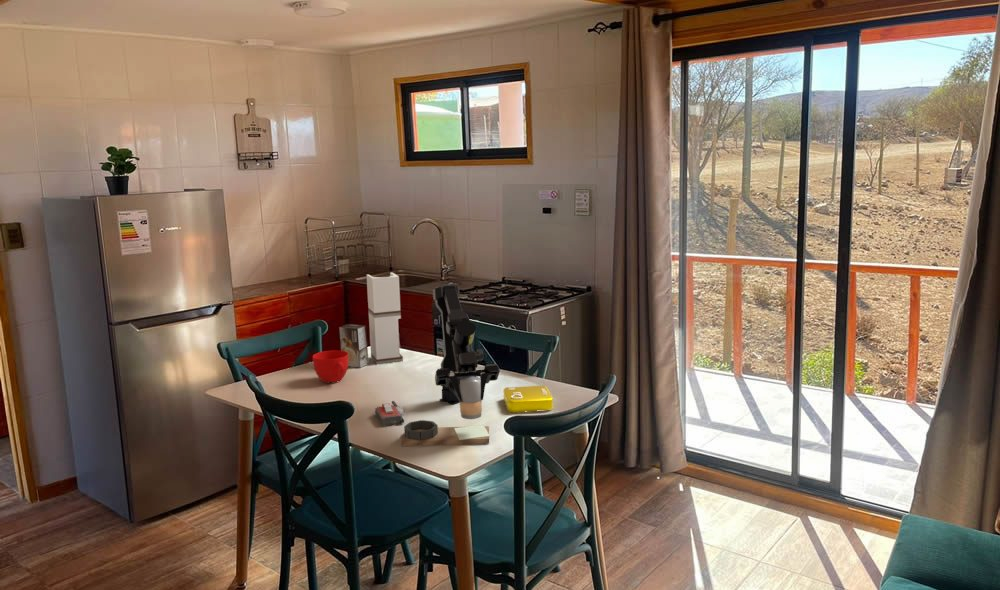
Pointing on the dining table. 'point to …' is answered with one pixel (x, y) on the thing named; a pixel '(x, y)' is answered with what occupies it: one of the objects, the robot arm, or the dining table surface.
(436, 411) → the dining table surface
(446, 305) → the robot arm
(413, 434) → the grey octagonal ring
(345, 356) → the ceramic cup
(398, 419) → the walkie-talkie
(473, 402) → the two-tone cylinder
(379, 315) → the tall white stacked column
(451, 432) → the walnut board
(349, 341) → the coffee box
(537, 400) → the element tile
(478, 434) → the sage pad
